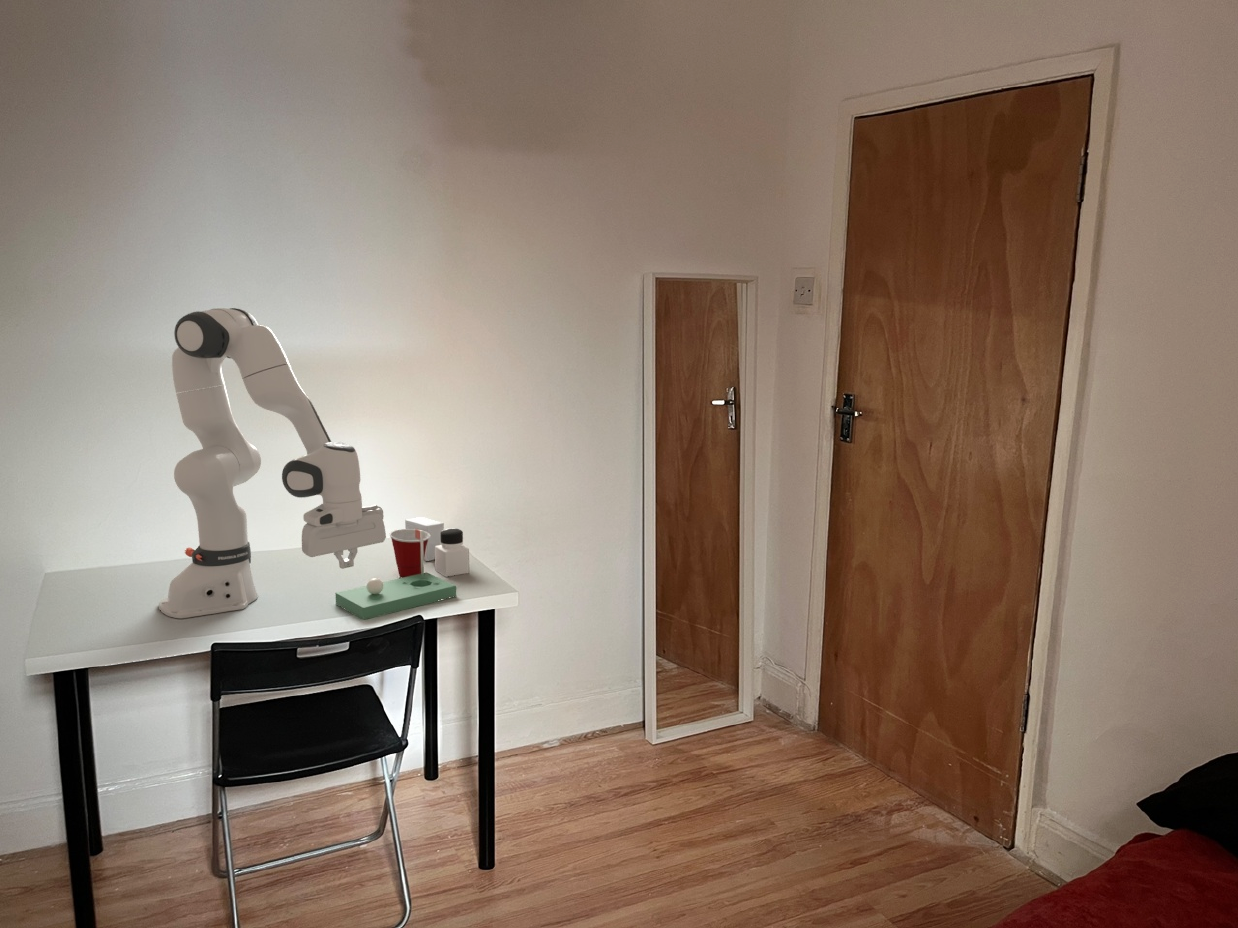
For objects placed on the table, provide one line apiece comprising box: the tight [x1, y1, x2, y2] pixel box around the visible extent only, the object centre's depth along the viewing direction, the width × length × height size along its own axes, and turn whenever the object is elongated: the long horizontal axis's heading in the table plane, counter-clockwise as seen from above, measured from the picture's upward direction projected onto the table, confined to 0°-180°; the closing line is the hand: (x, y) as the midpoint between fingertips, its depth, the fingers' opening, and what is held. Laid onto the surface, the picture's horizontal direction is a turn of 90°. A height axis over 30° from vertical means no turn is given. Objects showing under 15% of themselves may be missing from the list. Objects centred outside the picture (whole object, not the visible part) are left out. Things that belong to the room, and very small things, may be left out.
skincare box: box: [404, 516, 445, 562], centre depth 280 cm, size 10×6×10 cm, turn 49°
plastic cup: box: [389, 528, 431, 578], centre depth 261 cm, size 11×11×12 cm
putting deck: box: [335, 529, 457, 621], centre depth 242 cm, size 26×16×15 cm, turn 133°
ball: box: [366, 577, 383, 594], centre depth 238 cm, size 4×4×4 cm
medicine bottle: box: [434, 527, 470, 578], centre depth 266 cm, size 7×7×12 cm
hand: (346, 567), depth 231 cm, fingers closed
